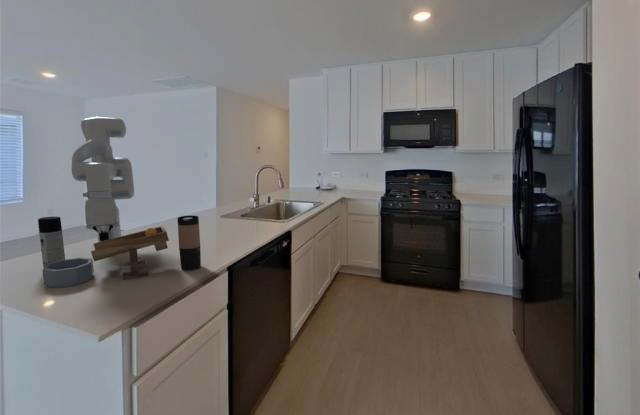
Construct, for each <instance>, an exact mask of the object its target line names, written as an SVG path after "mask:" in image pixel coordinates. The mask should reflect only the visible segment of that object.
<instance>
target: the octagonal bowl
mask: <svg viewBox="0 0 640 415" xmlns="http://www.w3.org/2000/svg"><path fill="white" fill-rule="evenodd" d="M94 270H95V269H94V260H93V258H89V257H75V258H67V259H66V258H65V260H60V261H57V262H53V263H50V264H47V265H45V267H44V268H43V269H42V275H43V276H42V277H43V282H44V283H43V284H44V285H46V287H47V288H52V289H53V288H54V289H58V288H59V289H62V288H63V289H64V288H69V287H74V286H75V287H76V286H78V285H81V284H85V283H87V282H89V281H91V280H92V279H93V278H94Z"/></svg>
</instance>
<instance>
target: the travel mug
mask: <svg viewBox="0 0 640 415" xmlns="http://www.w3.org/2000/svg"><path fill="white" fill-rule="evenodd" d="M177 235H178V251H179V259H180V260H179V261H180V269H181V270H182V271H187V272H188V271H195V270H198V269H200V268H201V263H202V262H201V258H202V257H201V235H200V220H199V216H198V215H182V216H181V215H180V216H178V217H177Z"/></svg>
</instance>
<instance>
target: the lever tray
mask: <svg viewBox="0 0 640 415" xmlns="http://www.w3.org/2000/svg"><path fill="white" fill-rule="evenodd" d="M153 228H154V229H155V230H156V231H157V234H153V235H150V236H146V235H145V232H146V230H147V229H145V230H140V231H138V232H133V233H129V234H126V235H121V237H117V238H113V239H109V240H105V241H101V242H98V241H97V242H94V243H93V247H94V249H93V250H91V251H90V253H91V257H92V260H93V262H97V261H101V260H104V259H109V258H112V257H116V256H119V255H122V254H123V255H124V254H126V253H129V249H130V248H137V250H139V249H141V250H142V249H144V248H147V247H151V246H154V247H155V252H159V251H163V250H166V249H168V244H167V242H168V241H170V240H169V236H168V232H167V230H166V228H165V226H164V225H161V226H157V227H153Z"/></svg>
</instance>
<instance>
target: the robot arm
mask: <svg viewBox="0 0 640 415" xmlns="http://www.w3.org/2000/svg"><path fill="white" fill-rule="evenodd" d="M80 127H81V130H82V131H81V132H82V134H83V137H84V139H85V142H84V143H83V144H81V145H80V146H79V147H77V149H75V151H74V152H73V154H72V157H71V175H72V177H73V179H74V180H75V181H76V182H77V181H78V182H86V192H83V193H82V197H86V198H87V199H85V202H84V203H85V204H84V216H85V224H86V225H85V228H86V229H87V230H94V231H95V232H96V234H97V235H96V236H97V243H98V242H101V241H105V240H109V239H113V238H117V237H121V236H122V230H121V220H120V218H121V217H120V210H119V208H118V206H117V204H116V200H130V199H132V198H134V196H135V185H134V174H133V166H132V163H131V160H130V159H129V158H127V157H120V156H119V157H114V154H113V147H112V145H111V138H116V139H117V138H118V139H119V138H121V139H123V138H125V136H126V133H127V126H126V124H125V121H124V120H123V119H121V118H119V117H108V116H107V117H103V116H93V117H88V118H84V119H82V120H81V121H80ZM89 159H91V161H87V160H89ZM115 178H121V179H115Z"/></svg>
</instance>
